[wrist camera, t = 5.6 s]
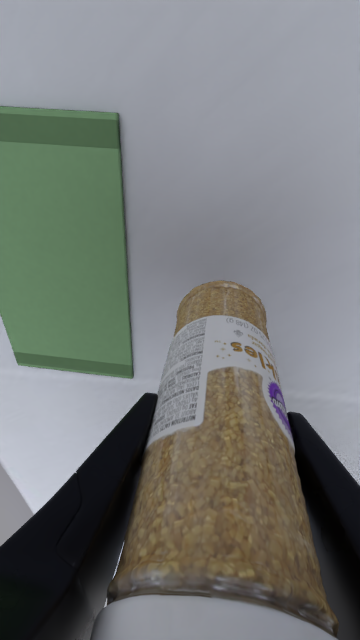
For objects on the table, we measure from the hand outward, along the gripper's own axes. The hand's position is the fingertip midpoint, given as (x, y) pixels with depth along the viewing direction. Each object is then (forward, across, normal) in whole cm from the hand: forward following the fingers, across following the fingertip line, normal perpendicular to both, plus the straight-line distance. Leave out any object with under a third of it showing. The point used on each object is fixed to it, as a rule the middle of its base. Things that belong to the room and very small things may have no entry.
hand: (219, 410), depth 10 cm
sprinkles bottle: (+6, 0, 0) cm, 7 cm away
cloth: (+13, +12, +2) cm, 18 cm away
